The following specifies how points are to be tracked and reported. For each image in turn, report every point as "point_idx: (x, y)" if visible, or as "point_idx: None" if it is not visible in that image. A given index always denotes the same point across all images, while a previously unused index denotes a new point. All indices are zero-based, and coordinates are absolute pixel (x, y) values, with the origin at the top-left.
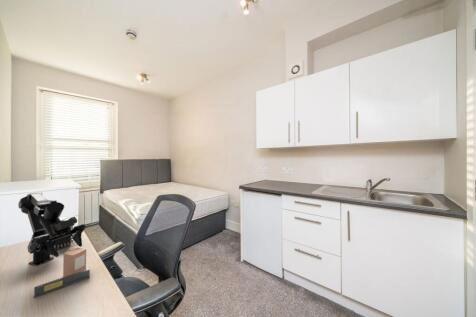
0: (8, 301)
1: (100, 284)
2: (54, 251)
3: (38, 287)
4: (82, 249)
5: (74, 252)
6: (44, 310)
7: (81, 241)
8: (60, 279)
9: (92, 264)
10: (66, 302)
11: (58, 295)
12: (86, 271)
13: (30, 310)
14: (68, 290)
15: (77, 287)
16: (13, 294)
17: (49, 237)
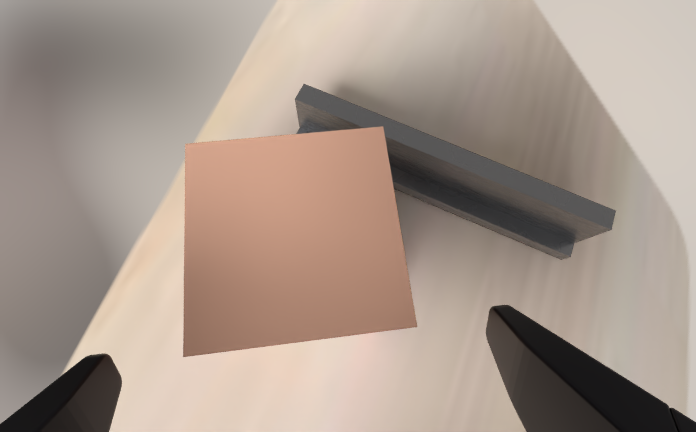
0: (671, 347)
1: (330, 5)
2: (595, 366)
3: (589, 205)
4: (210, 189)
5: (321, 198)
6: (564, 65)
7: (4, 426)
8: (473, 154)
9: (171, 282)
10: (487, 28)
11: (486, 119)
12: (323, 96)
13: (603, 125)
14: (438, 113)
15: (400, 93)
16: None
17: None
